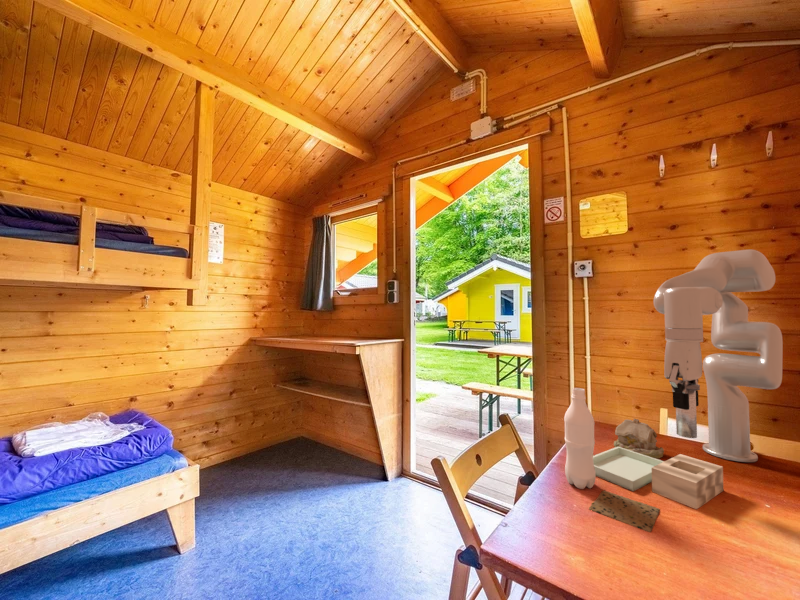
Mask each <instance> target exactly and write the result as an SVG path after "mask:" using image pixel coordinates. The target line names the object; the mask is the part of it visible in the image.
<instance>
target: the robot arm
mask: <svg viewBox="0 0 800 600" xmlns="http://www.w3.org/2000/svg"><path fill="white" fill-rule="evenodd" d="M775 283H776V273H775V269H774V267H773V266H772V265H771V263H770V262H769V260H768V258H767V257H766V255H765V254H763V253H762V252H760V251H758V250H756V249H741V250H740V249H739V250H731V251H721V252H714V253H710V254H708V255H706V256H704V257H703V258H702V259H701V260H700V262H699V263H698V264H697V265H696V266H695V268H694V269H693V270H691V271H687V272H685V273H683V274H680V275H677V276H674V277H672V278H671V277H670V278H669V279H667V280H665V281H664V282H663V283H661V285H660V286H659V287H658V288H657V290H656V292H655V293H654V297H653V307H654V308H655V310H656V311H657V312H658V313H659V314H662V315H664V336H665V338H664V340H665V341H666V343H665V348H664V349H665V350H664V363H663V364H664V365H663V366H664V371H663V372H664V374H663V375H664V378H665V379H666V380H669V381H668V382H669V384H670V386H672V387H671V391H672V406H673V407H674V408H675V409H676V408H680V409H685V410H689V394H688V393H687V386H688V382H689V383H694V384H698V385H699V379H700V378H702V376H703V373H704V377H705V383H706V391H707V392H706V394H707V421H708V424H707V425H708V442H706V443H703V444H702V450H703V451H704V452H706V453H707V454H710V455H712V456H714V457H717V458H720V459H724V460H728V461H733V462H738V463H740V462H741V463H756V462H757V461H758V460H759V457H758V454H756V453H755V452H753V451H751V431H750V430H751V429H750V427H751V426H750V403H749V399H748V397H747V396H746V394H745V393H744V392H743V391H742V390H741V389H740V388H739V387H749V388H756V389H763V390H776V389H778V388H780V386H781V384H782V381H783V359H784V358H783V355H784V354H783V349H784V348H783V344H784V343H783V334H782V331H781V329H780V327H779V326H778V325H777V324H775V323H774V322H773V323H772V322H768V321H749V307H748V305H747V304H746V303H745V302H744V301H743V300H742V299H741V298H739V297H738V296H737V295H735V294H734V293H748V292H749V293H752V292H765V291H769V290H771V289H772V288H773V287H774V286H775ZM710 315H712V316H711V330H710V340H711V344H712V345H713V347H715V348H716V349H719V350H723V351H729V352H730V351H732V352H733V351H734V352H744V353H745V352H746V353H757V354H759V355H760V356H757V355H745V354H738V353H737V354H736V353H735V354H733V353H723V352H722V353H712V354H709V355H706V356H705V358H702V348H701V343H703V342H704V327H703V326H704V324H703V323H704V321H703V316H710ZM679 378H680V379H679ZM681 383H683V386H682V385H681ZM699 405H700V404H699V390H696V407H699Z"/></svg>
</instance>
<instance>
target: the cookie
mask: <svg viewBox="0 0 800 600" xmlns="http://www.w3.org/2000/svg"><path fill="white" fill-rule="evenodd" d="M588 510H589V511H591V510H592V511H591V512H594V513H598V514H599V515H602V516H605V517H608V518H610V519H612V520H615V521H618V522H621V523H623V524H626V525H629V526H632V527H634V528H637V529H640V530H641V531H645V532H646V533H647V532H648V533H652V531H653V528H654V526H655V524H656V521H657V519H658V517H659V515H660V512H661V509H660V508H659V507H656V506H652V505H649V504H647V503H643V502H641V501H637V500H634V499H632V498H628V497H625V496H623V495H619V494H616V493H613V492H610V491H607V490H606V489H604V490H602V491H601V492H600V493H599V495H598V497H597V498H596V499H595V500H594V501H593V502H591V505H590V506H589V508H588Z"/></svg>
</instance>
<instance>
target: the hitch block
mask: <svg viewBox="0 0 800 600" xmlns="http://www.w3.org/2000/svg"><path fill="white" fill-rule="evenodd" d="M663 461H664V462H662V463H660V464H658V465H656V466H654V467H652V482H651V491H652V493H653V494H654V493H655V494H657V495H659V496H662V497H664V498H667V499H670V500H671V501H674V502H677V503H679V504H682V505H685V506H687V507H689V508H693V509H695V510H698V509H699V508H700V507H702V506H703V505H705V504H707V503H708V502H709V501H711V500H713V499H714V498H715V497H717V496H718V495H719V494H720V493H722V492H723V491H724V466H722V465H718V464H715V463H712V462H708V461H704V460H701V459H698V458H695V457H691V456H688V455H685V454H681V453H679V454H677V455H675V456H674V457H673V456H672V457H671V458H669V459H667V460H663Z"/></svg>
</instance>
